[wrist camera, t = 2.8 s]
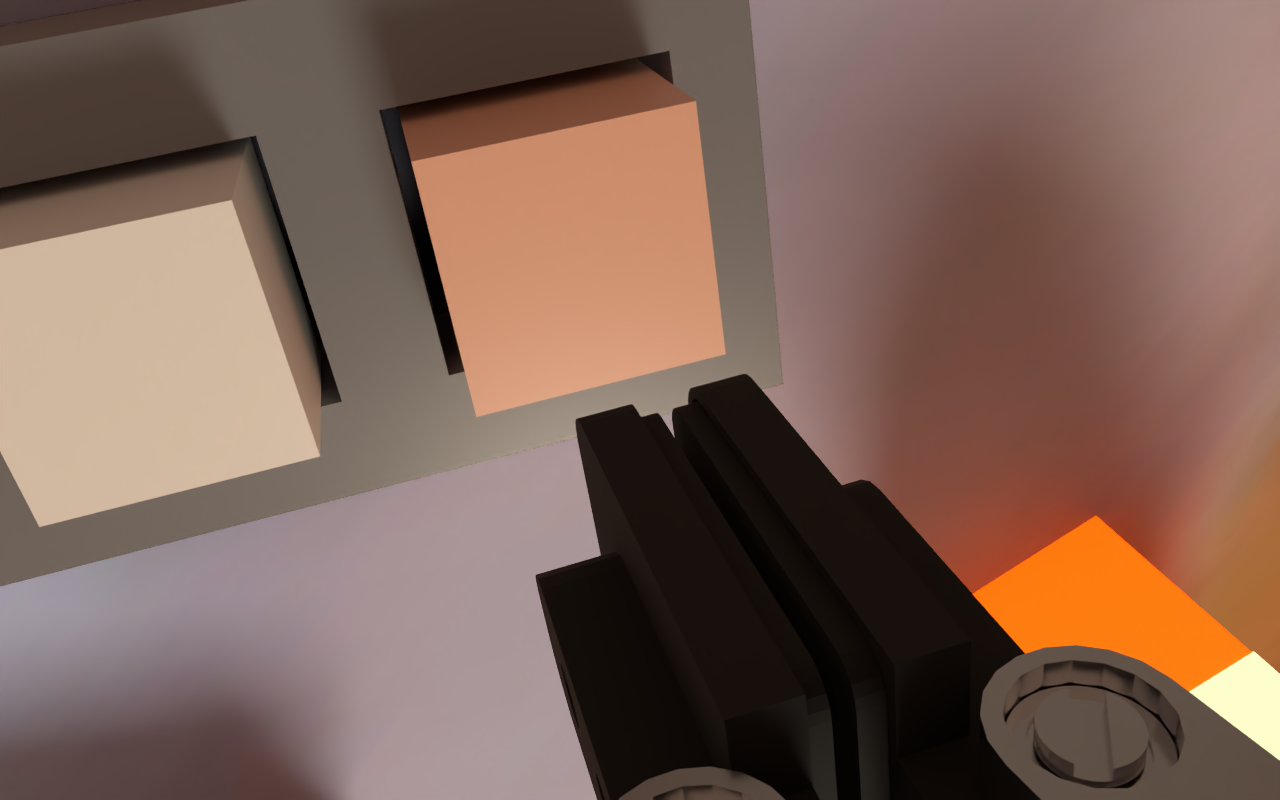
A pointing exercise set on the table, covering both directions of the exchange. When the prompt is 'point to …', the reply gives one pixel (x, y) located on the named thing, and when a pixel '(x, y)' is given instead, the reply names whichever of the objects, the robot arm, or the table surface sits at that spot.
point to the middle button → (150, 333)
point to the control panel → (369, 210)
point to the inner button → (568, 230)
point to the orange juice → (1134, 624)
